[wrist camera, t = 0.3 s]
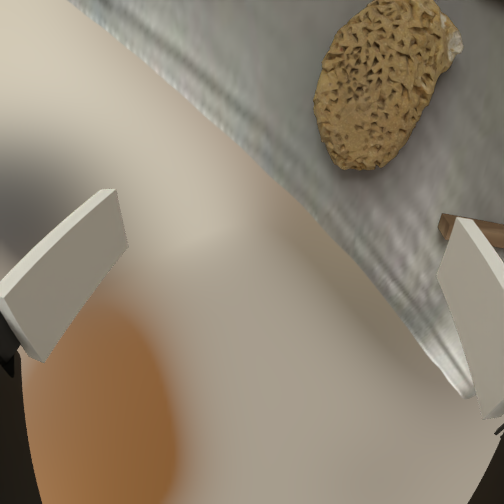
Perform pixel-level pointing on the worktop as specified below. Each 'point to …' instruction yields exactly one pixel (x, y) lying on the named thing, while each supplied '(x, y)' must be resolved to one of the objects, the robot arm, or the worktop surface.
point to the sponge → (381, 79)
